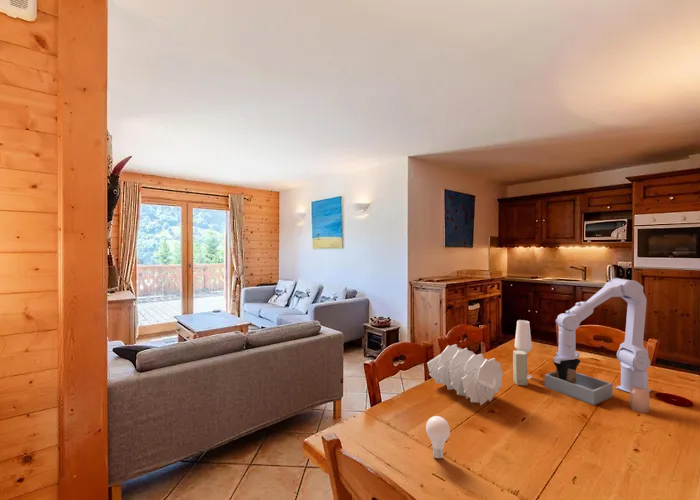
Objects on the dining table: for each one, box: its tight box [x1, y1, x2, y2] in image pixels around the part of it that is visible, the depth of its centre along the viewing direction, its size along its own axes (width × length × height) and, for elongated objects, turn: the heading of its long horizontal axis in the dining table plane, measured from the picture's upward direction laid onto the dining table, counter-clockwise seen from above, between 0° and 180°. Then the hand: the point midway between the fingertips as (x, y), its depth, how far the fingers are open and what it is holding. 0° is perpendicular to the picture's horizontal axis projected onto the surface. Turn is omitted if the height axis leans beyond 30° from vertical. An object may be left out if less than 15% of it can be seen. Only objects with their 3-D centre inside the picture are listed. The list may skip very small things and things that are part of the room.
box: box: [512, 350, 528, 386], centre depth 137 cm, size 5×4×13 cm
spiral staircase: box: [426, 343, 504, 406], centre depth 127 cm, size 18×18×25 cm
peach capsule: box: [629, 386, 650, 414], centre depth 115 cm, size 5×5×7 cm
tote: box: [544, 370, 614, 406], centre depth 129 cm, size 14×18×5 cm
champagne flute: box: [514, 319, 533, 380], centre depth 145 cm, size 7×7×24 cm
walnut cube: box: [555, 368, 577, 384], centre depth 133 cm, size 5×5×5 cm
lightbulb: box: [425, 415, 451, 459], centre depth 90 cm, size 6×6×11 cm
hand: (566, 377), depth 133 cm, fingers closed on walnut cube, 5 cm apart
